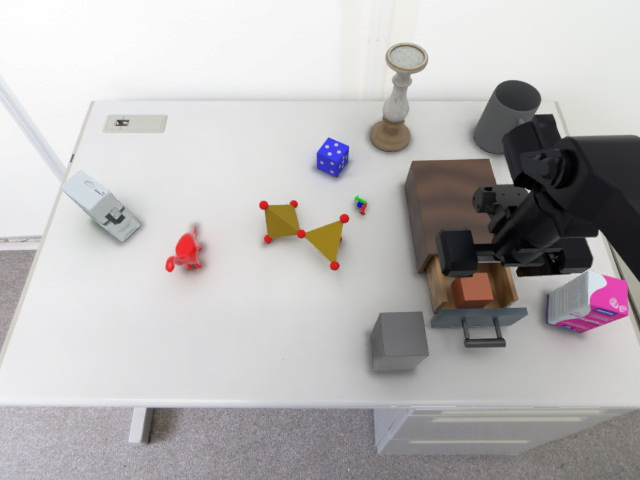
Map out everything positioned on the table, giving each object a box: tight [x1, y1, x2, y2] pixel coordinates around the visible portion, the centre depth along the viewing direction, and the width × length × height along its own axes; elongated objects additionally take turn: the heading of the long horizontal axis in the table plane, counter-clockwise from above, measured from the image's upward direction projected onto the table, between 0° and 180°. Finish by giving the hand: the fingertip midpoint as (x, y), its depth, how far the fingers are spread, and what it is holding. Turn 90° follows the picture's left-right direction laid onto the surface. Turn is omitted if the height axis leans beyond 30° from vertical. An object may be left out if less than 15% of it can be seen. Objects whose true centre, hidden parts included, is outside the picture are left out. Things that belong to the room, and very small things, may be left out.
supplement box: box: [545, 270, 629, 334], centre depth 60 cm, size 6×6×12 cm
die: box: [316, 137, 350, 178], centre depth 79 cm, size 5×5×5 cm
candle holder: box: [370, 42, 429, 152], centre depth 75 cm, size 9×9×20 cm
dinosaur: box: [164, 224, 203, 273], centre depth 65 cm, size 4×15×12 cm, turn 8°
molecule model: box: [258, 194, 368, 272], centre depth 69 cm, size 16×18×12 cm
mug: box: [473, 79, 542, 154], centre depth 77 cm, size 14×9×12 cm
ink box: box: [58, 169, 141, 243], centre depth 69 cm, size 9×5×12 cm, turn 54°
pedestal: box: [370, 311, 430, 372], centre depth 57 cm, size 6×6×12 cm
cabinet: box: [403, 158, 498, 274], centre depth 70 cm, size 20×15×8 cm
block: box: [451, 273, 494, 309], centre depth 63 cm, size 5×5×5 cm
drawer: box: [426, 256, 529, 349], centre depth 64 cm, size 23×13×6 cm, turn 1°
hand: (487, 274), depth 57 cm, fingers open, 9 cm apart
